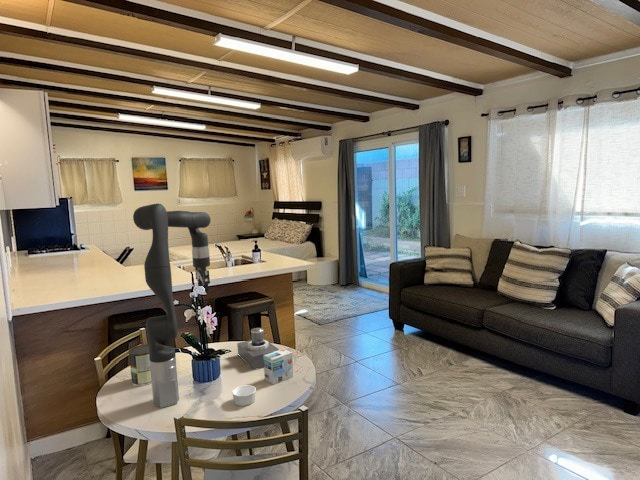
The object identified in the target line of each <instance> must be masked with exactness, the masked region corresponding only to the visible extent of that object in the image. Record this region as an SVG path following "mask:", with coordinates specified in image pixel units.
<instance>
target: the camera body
mask: <svg viewBox="0 0 640 480" xmlns="http://www.w3.org/2000/svg"><path fill="white" fill-rule="evenodd" d="M236 345H237V355H238V354H239V355H240V356H241V357H242V358H243V359H244V360H245V361H246V362H247V363H248V364H249V365H250V366H251V368H252V369H253V370H254V369H255V370H257V369H256V368H259V369H261V368H260V367H262V368H264V356H263V355H266V354H269V353H272V352H275V351H278V350H280V349H279V348H278V347H277V346H275V345H274V344H272V343H271V342H270V341H268V340H267V339H265V338H264V345H262V346H252V339H249V340H246V341H240V342H237V343H236ZM240 356H239V357H240ZM241 357H240V358H241ZM242 358H241V359H242ZM243 359H242V360H243ZM244 360H243V361H244ZM245 361H244V362H245ZM246 362H245V363H246ZM247 363H246V364H247ZM248 364H247V365H248ZM249 365H248V366H249ZM250 366H249V367H250Z"/></svg>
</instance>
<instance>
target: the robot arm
mask: <svg viewBox="0 0 640 480" xmlns="http://www.w3.org/2000/svg"><path fill="white" fill-rule="evenodd" d="M132 219H133V222H134V224H135V226H136V227H137V228H139V229H140V230H143V231H150V230H152V240H151V245H150V247H149V250H148V252H147V255H146V257H145V260H144V265H143V266H144V268H143V269H144V277H145V282H146V285H147V286H148V287H149V289H150V290H151V292H153V294H154V295H155V296H156V297H157V298H158V299H159V301H160V302H161V304H162V306H163V307H164V309H165V312H166V314H165V315H158V316H153V317H152V316H150V317H148V318H147V319H146V321H145V331H146V339H147V344H148V346H149V359H150V370H151V381H152V383H151V389H152V390H151V391H152V401H153V405H154V406H155V407H159V408H160V409H162V408H166V407H169V406H173V405H177V404H178V401H179V400H180V396H179V395H180V393H179V381H178V370H177V356H176V349H175V348H174V347H173V346H169V345H163V344H161V343H159V342H162V341H163V342H164V341H169V340H175V339H176V338H177V337H178V333H179V332H178V331H179V330H178V322H177V321H178V320H177V314H176V309H175V302H174V295H173V282H172V280H173V279H172V268H171V267H172V266H171V261H170V249H169V228H187V229H188V232H189V235H190V237H191V247H192V249H191V254H192V255H191V256H192V257H191V258H192V267H193V268H194V269H195V279H196V281H197V287H198V286H203V287H204V288H205V291H206V293H205V294H207V293H209V291H210V290H209V284H211V281H210V271H209V270H207V267H208V268H209V267H210V266H211V259H210V258H211V257H210V248H209V239H208V237H209V236H208V235H207V233H205V232H202V231H201V230H200V229H205V228H207V227H209V226H210V224H211V216H210V215H209V213H207V212H205V211H204V212H203V211H188V210H187V211H186V210H171V211H170V210H169V211H168V210H167V209H166V207H165V206H164V205H163V204H161V203H153V204H148V205H143V206H140V207H138V208H136V209H135V210H134V212H133V216H132Z"/></svg>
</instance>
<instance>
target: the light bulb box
mask: <svg viewBox="0 0 640 480" xmlns="http://www.w3.org/2000/svg"><path fill="white" fill-rule="evenodd" d="M263 356H264V367H263V371H264V372H263V374H264V380H265V381H267V382H268V383H269V384H271V385H276V384H278V383H280V382H283V381H286V380H288V379H289V380H290V379H292V378H294V366H293V365H294V364H293V363H294V362H293V352H292V351H289V350H287V349H286V348H281V349H279V350H278V351H275V352H272V353H269V354H266V355H263Z"/></svg>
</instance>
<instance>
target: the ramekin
mask: <svg viewBox="0 0 640 480" xmlns="http://www.w3.org/2000/svg"><path fill="white" fill-rule="evenodd" d="M256 392H257V389H256V386H253V385H251V384H250V385H249V384H244V385H243V384H242V385H239V386H237V387H236V386H235V388H234V389H233V390H232V391H231V393H232V398H233V403H234V404H235V405H236V406H238V407H246V406H249V405H252V404H254V402H255V401H256V394H257V393H256Z"/></svg>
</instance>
